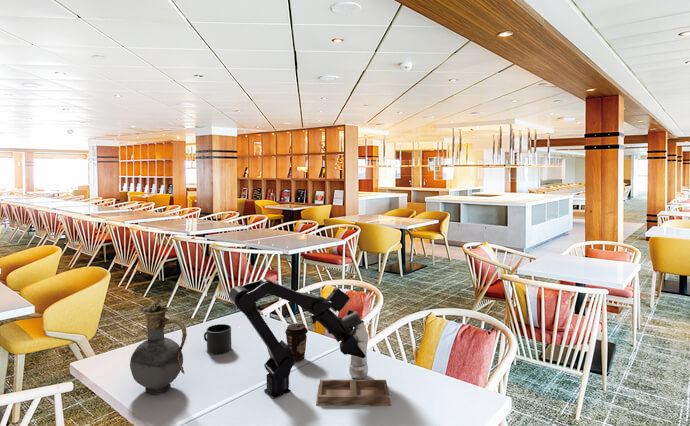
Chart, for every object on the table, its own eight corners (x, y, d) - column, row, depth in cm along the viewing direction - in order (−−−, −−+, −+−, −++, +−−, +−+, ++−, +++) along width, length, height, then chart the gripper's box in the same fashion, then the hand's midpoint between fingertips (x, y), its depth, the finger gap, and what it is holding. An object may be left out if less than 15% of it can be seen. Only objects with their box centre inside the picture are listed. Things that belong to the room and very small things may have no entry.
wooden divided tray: (316, 405, 131) (315, 397, 131) (318, 385, 143) (318, 378, 143) (390, 405, 131) (390, 397, 131) (387, 386, 143) (387, 379, 143)
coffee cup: (310, 355, 167) (309, 322, 166) (306, 364, 159) (305, 330, 158) (288, 354, 168) (287, 322, 167) (283, 363, 160) (282, 329, 159)
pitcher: (149, 378, 148) (146, 293, 145) (197, 385, 143) (194, 298, 140) (125, 394, 138) (121, 303, 135) (176, 402, 133) (173, 308, 130)
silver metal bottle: (346, 374, 151) (346, 319, 149) (363, 371, 154) (363, 317, 152) (354, 383, 145) (354, 325, 143) (371, 379, 148) (371, 322, 146)
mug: (211, 343, 179) (210, 322, 178) (236, 347, 175) (235, 325, 174) (196, 352, 170) (196, 330, 169) (222, 356, 166) (221, 333, 165)
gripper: (351, 314, 137) (384, 345, 140) (344, 297, 156) (374, 325, 158) (326, 339, 137) (360, 370, 139) (323, 319, 156) (352, 347, 158)
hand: (362, 351), depth 149 cm, fingers open, 9 cm apart
